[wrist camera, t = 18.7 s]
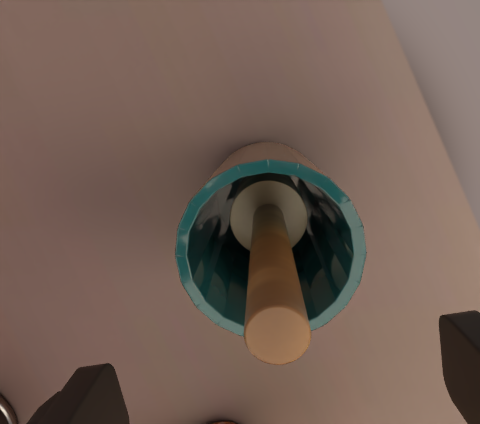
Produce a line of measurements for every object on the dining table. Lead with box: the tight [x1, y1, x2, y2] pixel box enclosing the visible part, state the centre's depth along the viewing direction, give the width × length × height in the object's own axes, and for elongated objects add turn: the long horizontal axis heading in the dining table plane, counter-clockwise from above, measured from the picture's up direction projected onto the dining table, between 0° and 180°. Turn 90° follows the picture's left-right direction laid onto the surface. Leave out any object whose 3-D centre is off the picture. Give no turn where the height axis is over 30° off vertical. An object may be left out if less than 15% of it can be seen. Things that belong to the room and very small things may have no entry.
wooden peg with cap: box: [230, 173, 311, 365], centre depth 21 cm, size 5×5×20 cm
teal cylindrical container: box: [175, 142, 367, 337], centre depth 25 cm, size 9×9×14 cm
